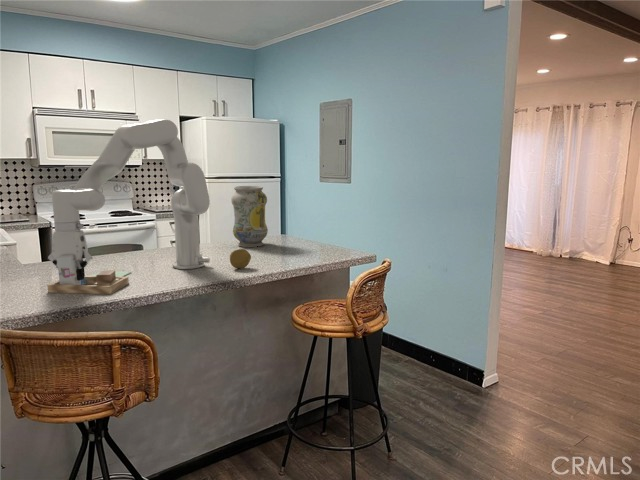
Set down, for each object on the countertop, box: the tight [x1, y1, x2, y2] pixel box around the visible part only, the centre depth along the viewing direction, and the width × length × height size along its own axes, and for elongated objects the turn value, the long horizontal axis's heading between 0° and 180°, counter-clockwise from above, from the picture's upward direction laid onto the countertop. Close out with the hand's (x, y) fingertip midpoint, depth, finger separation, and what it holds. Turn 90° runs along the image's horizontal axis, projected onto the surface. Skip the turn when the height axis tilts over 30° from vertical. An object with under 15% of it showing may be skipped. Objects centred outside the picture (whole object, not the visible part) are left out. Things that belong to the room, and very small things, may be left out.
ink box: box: [57, 255, 86, 285], centre depth 158 cm, size 9×5×12 cm, turn 5°
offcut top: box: [96, 269, 116, 284], centre depth 157 cm, size 4×6×3 cm
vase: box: [231, 185, 269, 248], centre depth 236 cm, size 18×18×30 cm
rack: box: [47, 275, 130, 295], centre depth 158 cm, size 21×13×2 cm, turn 86°
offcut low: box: [94, 279, 119, 286], centre depth 158 cm, size 5×7×3 cm
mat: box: [90, 270, 132, 277], centre depth 173 cm, size 12×14×1 cm
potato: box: [229, 248, 252, 269], centre depth 187 cm, size 7×8×8 cm
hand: (72, 278), depth 158 cm, fingers closed on ink box, 5 cm apart
